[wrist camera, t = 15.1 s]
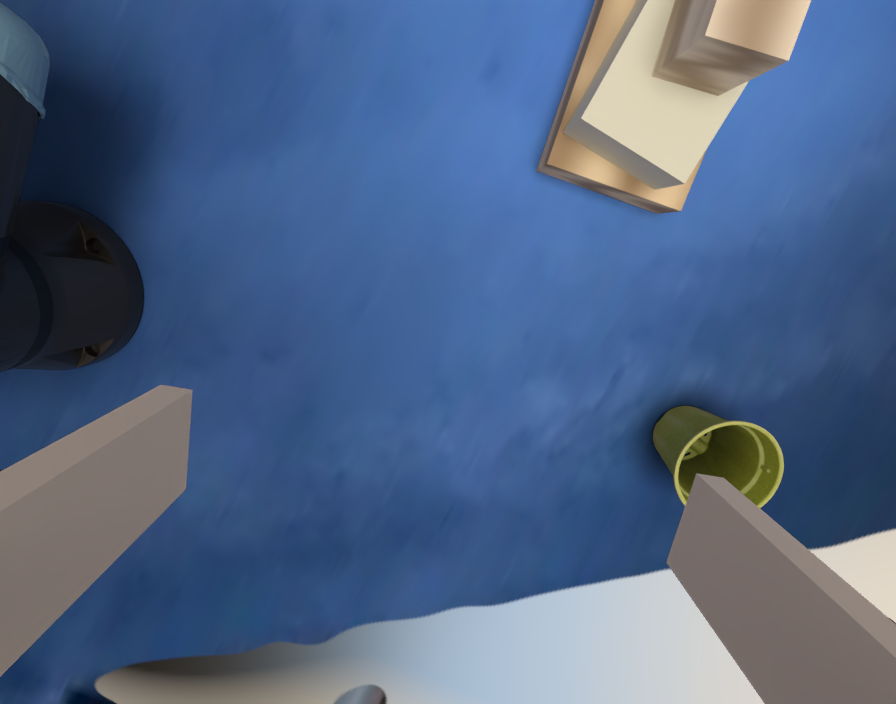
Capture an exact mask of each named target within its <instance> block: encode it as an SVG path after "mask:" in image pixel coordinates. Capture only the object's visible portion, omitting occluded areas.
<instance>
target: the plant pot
mask: <svg viewBox="0 0 896 704" xmlns="http://www.w3.org/2000/svg"><path fill="white" fill-rule="evenodd" d="M705 433H707V434H706V436H704V434H705ZM653 442H654V445H655V447H656V449H657V451H658V453H659V454H660V456H661V457H662V459H663V460H664V462H665V463H666V465H667V467H668V468H669V470H670V472H671V473H672V475H673V479H674V485H675V489H676V492H677V494H678V496H679V498H680V500H681V501H682V503H683V504H684V505H685V506H686V503H687V500H688V497H689V494H690V491H691V488H692V485H693V482H694V479H695V476H696V473H697V474H704V475H710V476H716V477H722V478H725V479H726V480H727V481H728V482H729V483H730V484H732V485H733V486H734V487H735V488H736V489H737V490H739V491H740V492H741V493H742V494H743V495H745V496H746V497H747V498H748V499H749V500H750V501H752V502H753V503H754V504H755V505H756V506H757V507H759V508H761V507H762V506H763V505H765V504H766V503H767V502H768V501H769V500H770V498H771V497H772V496H773V495H774V493H775V491H776V490H777V488H778V486H779V484H780V482H781V479H782V475H783V470H784V462H783V455H782V451H781V448H780V447H779V444H778V443H777V441H776V440H775V438H774V437H773V436H772V435H771V434H770V433H769V432H768V431H766V430H765V429H763V428H762V427H760V426H757V425H755V424H753V423H749V422H745V421H728V420H725V419H723V418H720V417H718V416H716V415H713V414H711V413H708V412H706V411H704V410H701V409H699V408H696V407H692V406H679V407H676V408H673V409H671V410H669V411H667V412H666V413H665V414H664V416H663V417H662V418H661V419H660V420H659V421H658V422H657V423H656V425H655V427H654V431H653ZM688 452H690V454H689V455H686V456H684V454H685V453H688Z"/></svg>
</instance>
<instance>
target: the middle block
mask: <svg viewBox="0 0 896 704" xmlns="http://www.w3.org/2000/svg"><path fill="white" fill-rule="evenodd" d="M674 2H675V0H637V1H636V2H635V4H634V6H633V8H632V10H631V11H630V13H629V15H628V17H627V19H626V20H625V22H624V24H623V26H622V28H621V29H620V31H619V33H618V35H617V36H616V38H615V40H614V42H613V44H612V45H611V47H610V49H609V51H608V53H607V54H606V56H605V58H604V60H603V62H602V63H601V65H600V67H599V69H598V71H597V72H596V74H595V76H594V78H593V79H592V81H591V83H590V85H589V87H588V88H587V90H586V92H585V94H584V96H583V97H582V99H581V101H580V103H579V105H578V106H577V108H576V110H575V112H574V113H573V115H572V117H571V119H570V121H569V122H568V124H567V126H566V128H565V130H564V131H563V133H564V134H565V135H567V136H568V137H570V138H572V139H573V140H575V141H576V142H578V143H580V144H581V145H583V146H584V147H586V148H588V149H589V150H591V151H593V152H594V153H596V154H597V155H599V156H601V157H602V158H604V159H605V160H607V161H609V162H610V163H612V164H614V165H615V166H617V167H618V168H620V169H622V170H623V171H625V172H626V173H628V174H630V175H631V176H633V177H634V178H636V179H638V180H639V181H641V182H643V183H644V184H646V185H647V186H649V187H651V188H652V189H654V190H656V189H661V188H666V187H671V186H676V185H681V184H685V183H686V181H687V179H688V178H689V176H690V175H691V173H692V171H693V170H694V168H695V167H696V165H697V163H698V162H699V160H700V159H701V157H702V155H703V154H704V152H705V151H706V149H707V147H708V146H709V144H710V143H711V141H712V139H713V138H714V136H715V135H716V133H717V131H718V130H719V128H720V127H721V125H722V123H723V122H724V120H725V119H726V117H727V115H728V114H729V112H730V111H731V109H732V107H733V106H734V104H735V103H736V101H737V99H738V98H739V96H740V95H741V93H742V91H743V90H744V88H745V87H746V85H747V83H748V82H749V81H747V82H745V83H743V84H741V85H739V86H737V87H735V88H733V89H731V90H729V91H727V92H725V93H723V94H721V95H719V96H717V95H713V94H710V93H707V92H703V91H700V90H696V89H693V88H690V87H686V86H683V85H679V84H676V83H673V82H669V81H666V80H662V79H659V78H656V77H652V76H651V75H652V72H653V69H654V65H655V62H656V59H657V56H658V53H659V50H660V47H661V43H662V40H663V37H664V34H665V31H666V28H667V24H668V21H669V18H670V15H671V12H672V9H673V6H674Z"/></svg>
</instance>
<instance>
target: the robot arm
mask: <svg viewBox="0 0 896 704" xmlns="http://www.w3.org/2000/svg"><path fill="white" fill-rule="evenodd" d="M49 67H50V60H49V54H48V51H47V48H46V46H45V44H44V43H43V41H42V39H41V38H40V36H39V35H38V34H37V33H36V32H35V31H34V30H33V29H32V28H31V27H30V26H29V25H28V24H27V23H26V22H25V21H24V20H23V19H22V18H20V17H19V16H18V15H16V14H15V13H14V12H12V11H11V10H10V9H8V8H7V7H6V6H4V5H3V4H1V3H0V372H2V371H5V370H9V369H12V368H16V369H41V370H67V369H73V368H79V367H83V366H86V365H89V364H92V363H94V362H97V361H100V360H102V359H105V358H107V357H109V356H111V355H112V354H114V353H116V352H117V351H118V350H120V349H121V348H122V347H123V346H124V345H125V344H126V343H127V342H128V341H129V339H130V338H131V337H132V335H133V334H134V332H135V330H136V328H137V326H138V324H139V321H140V318H141V314H142V308H143V287H142V282H141V277H140V274H139V271H138V268H137V265H136V263H135V261H134V259H133V257H132V255H131V253H130V252H129V250H128V248H127V247H126V246H125V244H124V243H123V242H122V240H121V239H120V238H119V237H118V236H117V235H116V234H115V233H114V231H112V230H111V229H110V228H109V227H108V226H107V225H106V224H104V223H103V222H102V221H100V220H99V219H97V218H96V217H94V216H93V215H91V214H89V213H87V212H85V211H83V210H81V209H78V208H76V207H73V206H70V205H66V204H62V203H56V202H45V201H32V200H23V201H20V198H21V193H22V189H23V185H24V181H25V177H26V173H27V169H28V165H29V160H30V156H31V152H32V148H33V144H34V140H35V136H36V132H37V127H38V123H39V119H42V120H43V119H44V117H45V108H44V106H43V100H44V95H45V90H46V84H47V79H48V73H49ZM191 405H192V390H190V389H184V388H178V387H172V386H166V385H160V386H158V387H156V388H154V389H152V390H150V391H148V392H147V393H145V394H143V395H141V396H139V397H137V398H135V399H134V400H132V401H130V402H128V403H126V404H124V405H123V406H121V407H119V408H117V409H115V410H113V411H111V412H110V413H108V414H106V415H104V416H102V417H100V418H99V419H97V420H95V421H93V422H91V423H89V424H87V425H86V426H84V427H82V428H80V429H78V430H76V431H75V432H73V433H71V434H69V435H67V436H65V437H63V438H62V439H60V440H58V441H56V442H54V443H52V444H50V445H49V446H47V447H45V448H43V449H41V450H39V451H38V452H36V453H34V454H32V455H30V456H28V457H26V458H25V459H23V460H21V461H19V462H17V463H15V464H14V465H12V466H10V467H8V468H6V469H4V470H0V676H1V675H2V674H3V673H4V672H5V671H6V670H7V669H8V668H9V667H10V666H11V665H12V664H13V663H14V662H15V661H16V660H17V659H18V658H19V657H20V656H21V655H22V654H23V653H24V652H25V651H26V650H27V649H28V648H29V647H30V646H31V645H32V644H33V643H34V642H35V641H36V640H37V639H38V638H39V637H40V636H41V635H42V634H43V633H44V632H45V631H46V630H47V629H48V628H49V627H50V626H51V625H52V624H53V623H54V622H55V621H56V620H57V619H58V618H59V617H60V616H61V615H62V614H63V613H64V612H65V611H66V610H67V609H68V608H69V607H70V606H71V605H72V604H73V603H74V602H75V601H76V600H77V599H78V598H79V597H80V596H81V595H82V594H83V593H84V592H85V590H86V589H87V588H88V587H89V586H90V585H91V584H92V583H93V582H94V581H95V580H96V579H97V578H98V577H99V576H100V575H101V574H102V573H103V572H104V571H105V570H106V569H107V568H108V567H109V566H110V565H111V564H112V563H113V562H114V561H115V560H116V559H117V558H118V557H119V556H120V555H121V554H122V553H123V552H124V551H125V550H126V549H127V548H128V547H129V546H130V545H131V544H132V543H133V542H134V541H135V540H136V539H137V538H138V537H139V536H140V535H141V534H142V533H143V532H144V531H145V530H146V529H147V528H148V527H149V526H150V525H151V524H152V523H153V522H154V521H155V520H156V519H157V518H158V517H159V516H160V515H161V514H162V513H163V512H164V511H165V510H166V509H167V508H168V507H169V506H170V505H171V504H172V503H173V502H174V501H175V500H176V499H177V498H178V497H179V496H180V495H181V494H182V493H183V492H184V491H185V490H186V481H187V466H188V451H189V435H190V420H191ZM667 564H668V565H669V567H670V568H671V570H672V571H673V573H674V574H675V575H676V577H677V578H678V580H679V581H680V583H681V584H682V585H683V587H684V588H685V590H686V591H687V593H688V594H689V596H690V597H691V598H692V600H693V601H694V603H695V604H696V606H697V607H698V608H699V610H700V611H701V613H702V614H703V616H704V617H705V618H706V620H707V621H708V623H709V624H710V626H711V627H712V628H713V630H714V631H715V633H716V634H717V636H718V637H719V639H720V640H721V641H722V643H723V644H724V646H725V647H726V649H727V650H728V652H729V653H730V654H731V656H732V657H733V659H734V660H735V661H736V663H737V664H738V666H739V667H740V669H741V670H742V671H743V673H744V674H745V676H746V677H747V679H748V680H749V682H750V683H751V685H752V686H753V687H754V689H755V690H756V692H757V693H758V695H759V696H760V697H761V699H762V700H763V702H764V703H765V704H896V623H895V622H894V621H893V620H891V619H890V618H888V617H886V616H885V615H884V614H883V613H882V612H881V611H880V610H878V609H877V608H876V607H875V606H874V605H873V604H871V603H870V602H869V601H868V600H867V599H865V598H864V597H863V596H862V595H861V594H859V593H858V592H857V591H856V590H855V589H854V588H852V587H851V586H850V585H849V584H848V583H846V582H845V581H844V580H843V579H842V578H841V577H839V576H838V575H837V574H836V573H835V572H834V571H833V570H831V569H830V568H829V567H828V566H827V565H826V564H824V563H823V562H822V561H821V560H820V559H818V558H817V557H816V556H815V555H814V554H813V553H811V552H810V551H809V550H808V549H807V548H806V547H804V546H803V545H802V544H801V543H800V542H799V541H797V540H796V539H795V538H794V537H793V536H791V535H790V534H789V533H788V532H787V531H786V530H784V529H783V528H782V527H781V526H780V525H779V524H777V523H776V522H775V521H774V520H773V519H772V518H770V517H769V516H768V515H767V514H766V513H764V512H763V511H762V510H761V509H760V508H759V507H757V506H756V505H755V504H754V503H753V502H752V501H750V500H749V499H748V498H747V497H746V496H745V495H743V494H742V493H741V492H740V491H739V490H737V489H736V488H735V487H734V486H733V485H732V484H730V483H729V482H728V481H727V480H726V479H725V478H722V477H716V476H710V475H704V474H697V473H696V476H695V479H694V482H693V485H692V488H691V491H690V494H689V497H688V500H687V503H686V506H685V509H684V512H683V515H682V518H681V521H680V524H679V527H678V530H677V533H676V536H675V539H674V542H673V545H672V548H671V551H670V554H669V557H668V560H667Z"/></svg>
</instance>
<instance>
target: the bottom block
mask: <svg viewBox="0 0 896 704" xmlns="http://www.w3.org/2000/svg"><path fill="white" fill-rule="evenodd" d="M636 1H637V0H595V3H594V5H593V8H592V11H591V14H590V17H589V20H588V23H587V26H586V29H585V31H584V34H583V37H582V40H581V43H580V46H579V49H578V52H577V55H576V57H575V60H574V63H573V66H572V69H571V72H570V75H569V78H568V81H567V83H566V86H565V89H564V92H563V95H562V98H561V101H560V104H559V107H558V109H557V112H556V115H555V118H554V121H553V124H552V127H551V130H550V133H549V135H548V138H547V141H546V144H545V147H544V150H543V153H542V156H541V159H540V161H539V164H538V167H537V170H536V171H538V172H541V173H544V174H547V175H549V176H552V177H555V178H558V179H561V180H564V181H566V182H569V183H572V184H575V185H578V186H581V187H583V188H586V189H589V190H592V191H595V192H598V193H600V194H603V195H606V196H609V197H612V198H615V199H617V200H620V201H623V202H626V203H629V204H631V205H634V206H637V207H640V208H643V209H646V210H648V211H651V212H654V213H657V214H658V213H668V212H678V211H681V209H682V207H683V205H684V202H685V200H686V197H687V195H688V193H689V190H690V188H691V185H692V183H693V181H694V178H695V176H696V173H697V171H698V169H699V166H700V164H701V162H702V159H703V157H704V154H705V152H706V151H705V152H704V154H703V155H702V157H701V159H700V160H699V162H698V163H697V165H696V167H695V168H694V170H693V171H692V173H691V175H690V176H689V178H688V179H687V181H686V183H685V184H681V185H676V186H671V187H666V188H661V189H656V190H654V189H652V188H651V187H649V186H647V185H646V184H644V183H643V182H641V181H639V180H638V179H636V178H634V177H633V176H631V175H630V174H628V173H626V172H625V171H623V170H622V169H620V168H618V167H617V166H615V165H614V164H612V163H610V162H609V161H607V160H605V159H604V158H602V157H601V156H599V155H597V154H596V153H594V152H593V151H591V150H589V149H588V148H586V147H584V146H583V145H581V144H580V143H578V142H576V141H575V140H573V139H572V138H570V137H568V136H567V135H565V134H564V133H563V131H564V130H565V128H566V126H567V124H568V122H569V121H570V119H571V117H572V115H573V113H574V112H575V110H576V108H577V106H578V105H579V103H580V101H581V99H582V97H583V96H584V94H585V92H586V90H587V88H588V87H589V85H590V83H591V81H592V79H593V78H594V76H595V74H596V72H597V71H598V69H599V67H600V65H601V63H602V62H603V60H604V58H605V56H606V54H607V53H608V51H609V49H610V47H611V45H612V44H613V42H614V40H615V38H616V36H617V35H618V33H619V31H620V29H621V28H622V26H623V24H624V22H625V20H626V19H627V17H628V15H629V13H630V11H631V10H632V8H633V6H634V4H635V2H636ZM706 150H707V149H706Z"/></svg>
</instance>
